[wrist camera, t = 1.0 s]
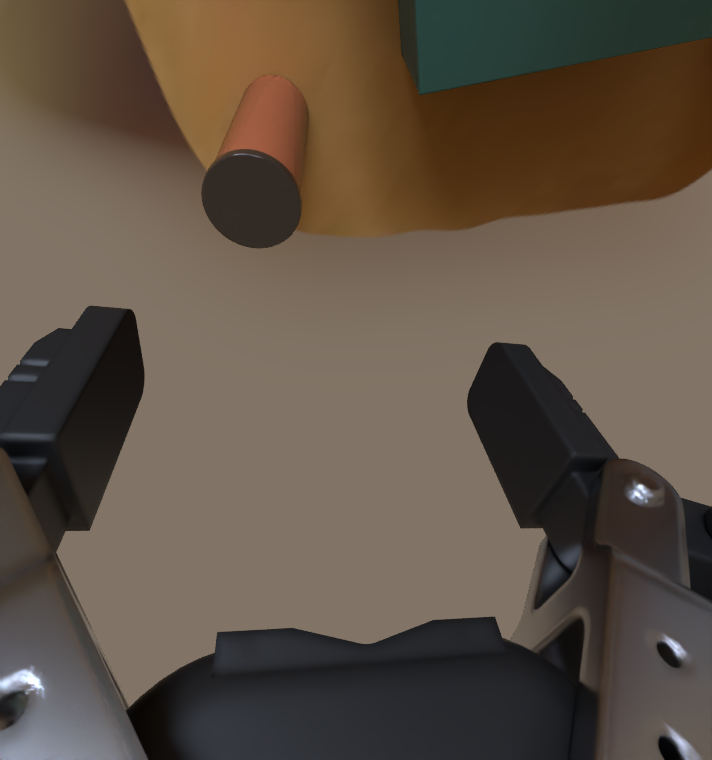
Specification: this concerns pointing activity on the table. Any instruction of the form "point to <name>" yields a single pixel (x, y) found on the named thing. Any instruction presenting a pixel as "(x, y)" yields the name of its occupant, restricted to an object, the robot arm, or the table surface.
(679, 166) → the table surface
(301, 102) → the jar
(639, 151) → the table surface
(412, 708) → the robot arm
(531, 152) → the table surface
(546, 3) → the lid
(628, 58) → the table surface
